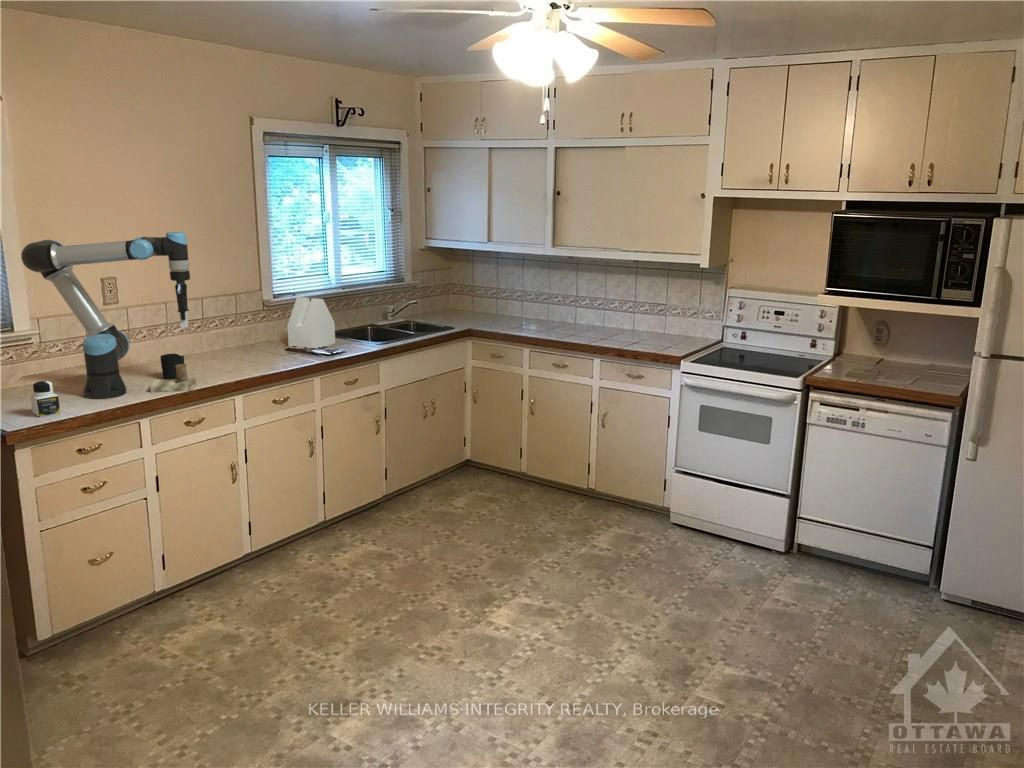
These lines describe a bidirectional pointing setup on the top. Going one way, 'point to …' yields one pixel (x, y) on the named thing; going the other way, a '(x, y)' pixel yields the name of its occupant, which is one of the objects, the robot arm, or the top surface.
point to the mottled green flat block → (172, 385)
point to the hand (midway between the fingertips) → (184, 326)
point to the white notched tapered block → (310, 324)
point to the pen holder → (170, 365)
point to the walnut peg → (181, 373)
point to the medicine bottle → (44, 399)
